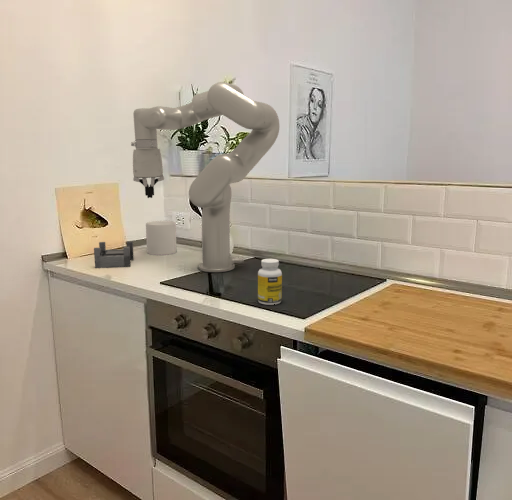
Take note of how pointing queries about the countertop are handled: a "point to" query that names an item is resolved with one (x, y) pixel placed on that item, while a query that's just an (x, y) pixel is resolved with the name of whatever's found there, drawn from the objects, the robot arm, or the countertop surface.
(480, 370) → the countertop surface
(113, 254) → the plug
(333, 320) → the countertop surface
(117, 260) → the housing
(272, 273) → the pill bottle
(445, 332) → the countertop surface
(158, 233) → the cup
